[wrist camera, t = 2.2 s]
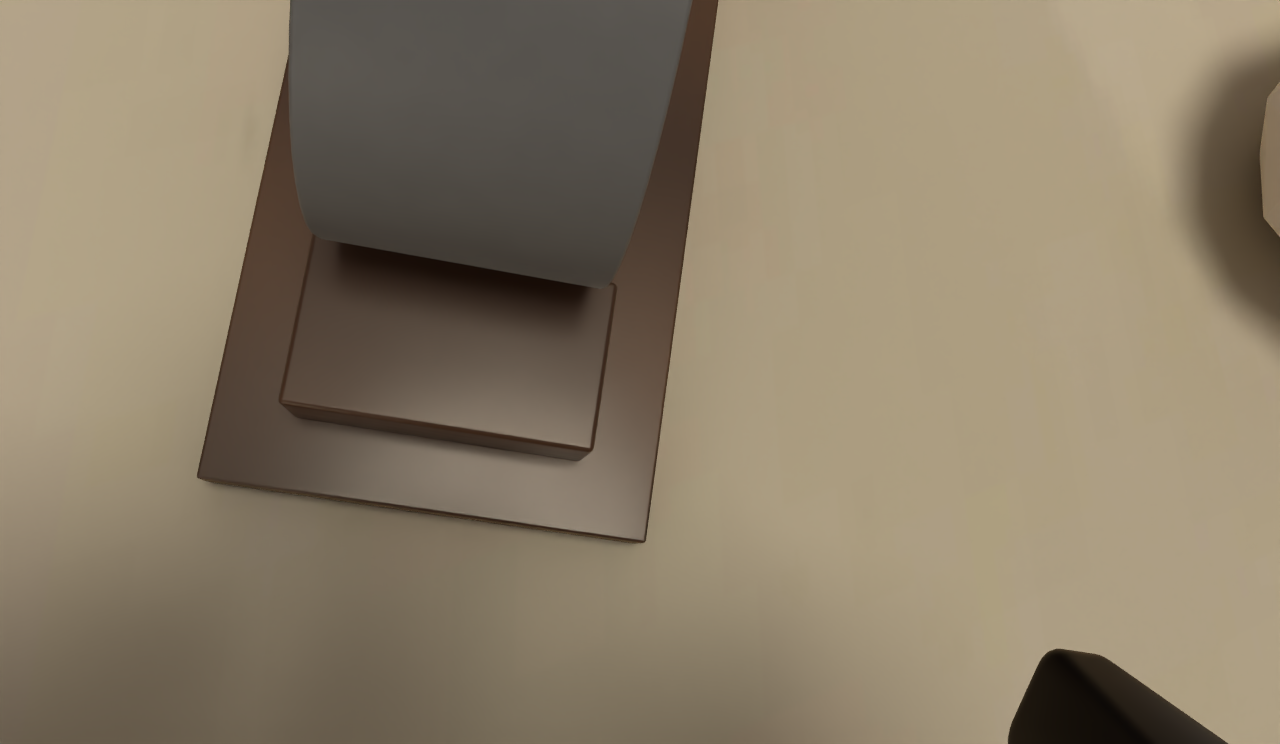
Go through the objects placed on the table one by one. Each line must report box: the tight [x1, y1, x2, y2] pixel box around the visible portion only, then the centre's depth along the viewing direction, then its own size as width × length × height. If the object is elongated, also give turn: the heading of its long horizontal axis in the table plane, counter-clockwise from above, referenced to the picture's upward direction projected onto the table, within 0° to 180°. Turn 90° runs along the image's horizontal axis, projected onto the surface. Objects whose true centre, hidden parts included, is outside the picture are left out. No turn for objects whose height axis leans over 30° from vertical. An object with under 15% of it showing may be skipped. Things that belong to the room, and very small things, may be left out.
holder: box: [197, 0, 718, 543], centre depth 20 cm, size 16×8×3 cm, turn 172°
